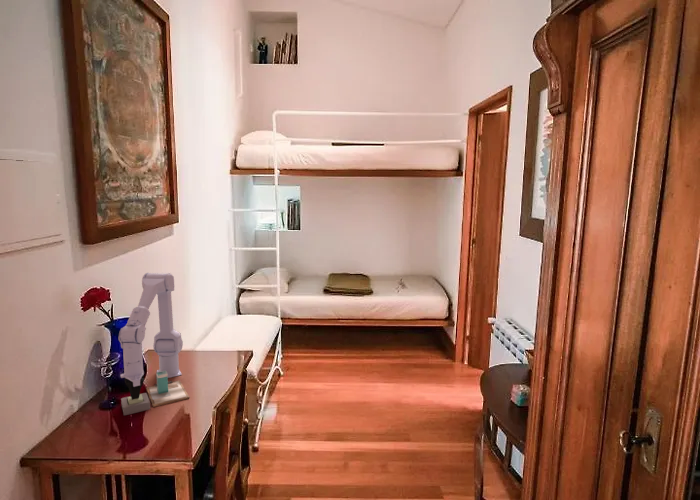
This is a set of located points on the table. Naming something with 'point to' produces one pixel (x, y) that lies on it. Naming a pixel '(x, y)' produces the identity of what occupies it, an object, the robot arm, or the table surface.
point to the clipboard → (167, 394)
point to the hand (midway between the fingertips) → (135, 398)
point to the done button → (135, 400)
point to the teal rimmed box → (162, 382)
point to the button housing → (135, 405)
